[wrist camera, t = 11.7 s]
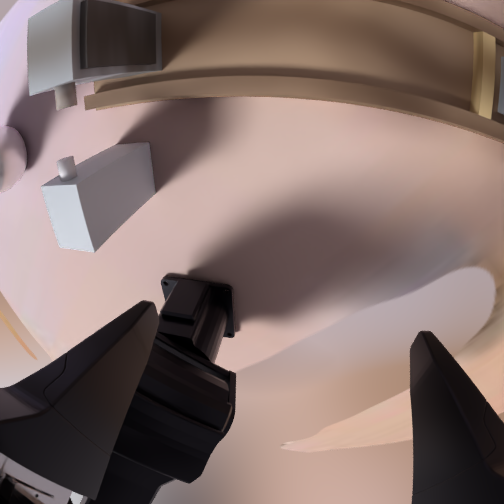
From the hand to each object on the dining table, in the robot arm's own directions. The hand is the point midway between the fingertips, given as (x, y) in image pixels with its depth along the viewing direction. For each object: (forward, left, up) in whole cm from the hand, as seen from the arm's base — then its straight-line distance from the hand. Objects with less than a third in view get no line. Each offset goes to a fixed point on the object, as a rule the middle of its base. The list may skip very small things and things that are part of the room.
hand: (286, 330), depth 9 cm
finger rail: (+10, -2, -12) cm, 16 cm away
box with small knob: (+1, +12, -12) cm, 17 cm away
